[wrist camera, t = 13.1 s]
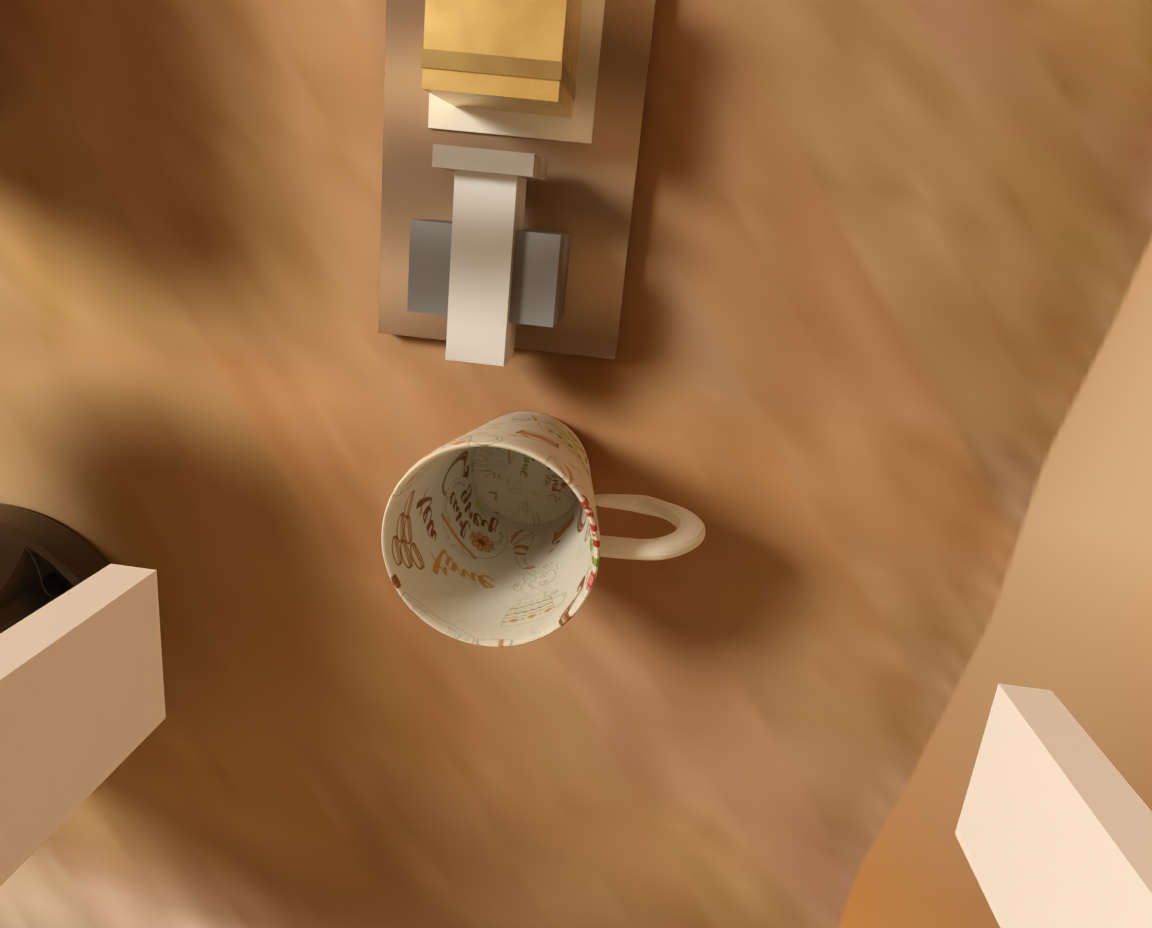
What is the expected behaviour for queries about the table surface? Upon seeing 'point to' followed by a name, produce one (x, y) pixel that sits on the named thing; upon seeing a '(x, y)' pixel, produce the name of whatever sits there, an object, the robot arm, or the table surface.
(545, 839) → the table surface
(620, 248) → the shaft bed
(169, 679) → the table surface
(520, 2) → the block
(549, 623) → the mug
